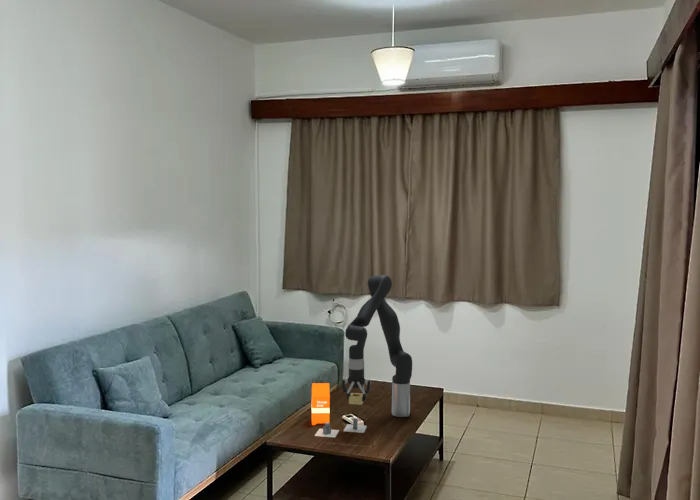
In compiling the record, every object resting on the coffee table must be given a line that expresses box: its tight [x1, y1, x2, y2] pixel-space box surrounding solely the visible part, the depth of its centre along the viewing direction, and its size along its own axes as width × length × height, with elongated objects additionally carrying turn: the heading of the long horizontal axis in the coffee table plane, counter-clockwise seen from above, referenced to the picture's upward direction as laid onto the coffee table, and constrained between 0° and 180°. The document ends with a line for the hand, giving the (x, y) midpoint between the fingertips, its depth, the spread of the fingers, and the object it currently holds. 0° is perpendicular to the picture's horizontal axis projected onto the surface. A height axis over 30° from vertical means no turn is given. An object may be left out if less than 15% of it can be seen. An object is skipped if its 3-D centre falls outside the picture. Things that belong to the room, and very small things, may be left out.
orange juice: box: [311, 382, 331, 426], centre depth 331 cm, size 8×9×20 cm
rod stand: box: [343, 418, 368, 434], centre depth 321 cm, size 10×10×5 cm
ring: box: [348, 392, 364, 406], centre depth 320 cm, size 6×6×4 cm
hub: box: [314, 422, 340, 438], centre depth 315 cm, size 10×10×6 cm
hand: (356, 400), depth 320 cm, fingers closed on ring, 6 cm apart
